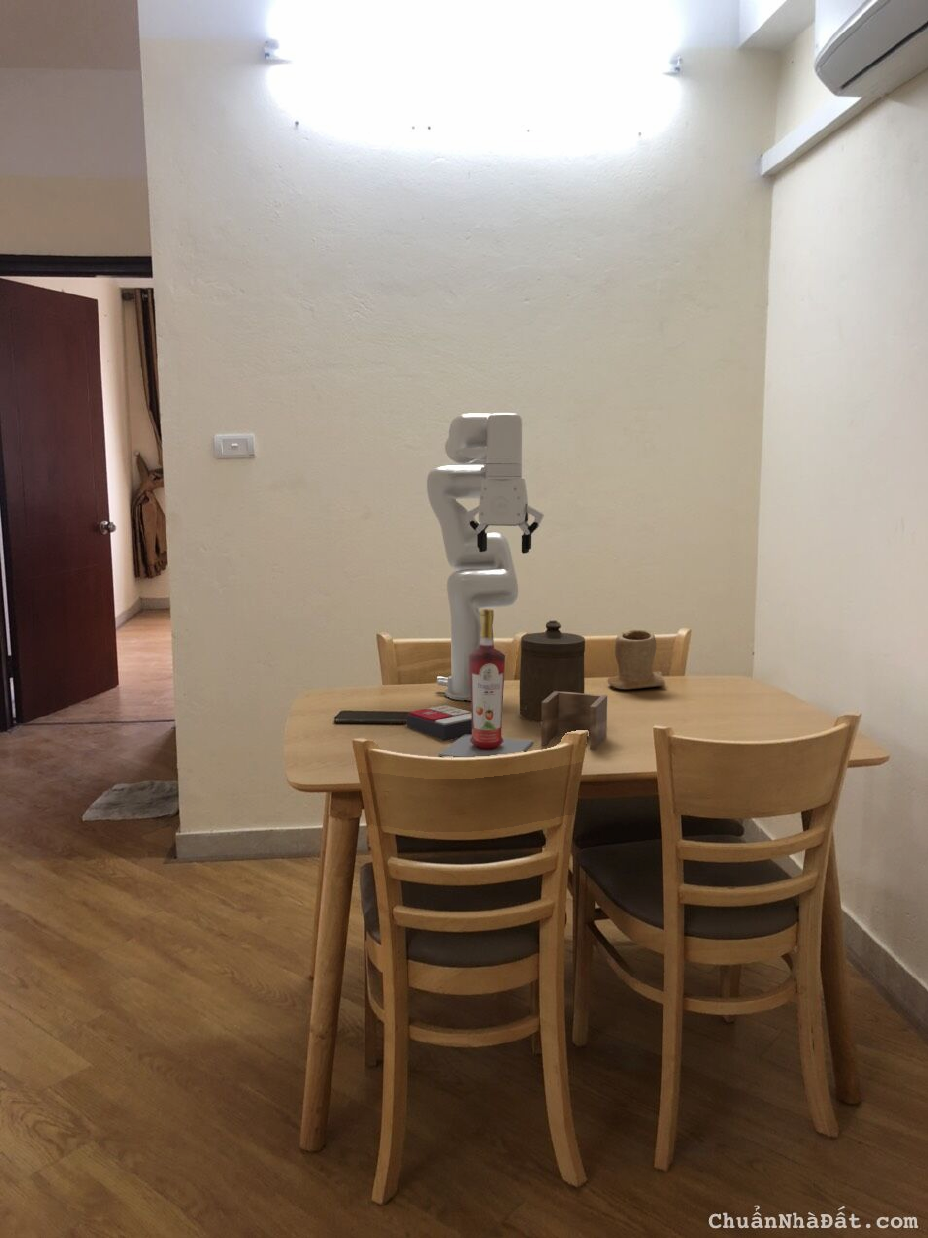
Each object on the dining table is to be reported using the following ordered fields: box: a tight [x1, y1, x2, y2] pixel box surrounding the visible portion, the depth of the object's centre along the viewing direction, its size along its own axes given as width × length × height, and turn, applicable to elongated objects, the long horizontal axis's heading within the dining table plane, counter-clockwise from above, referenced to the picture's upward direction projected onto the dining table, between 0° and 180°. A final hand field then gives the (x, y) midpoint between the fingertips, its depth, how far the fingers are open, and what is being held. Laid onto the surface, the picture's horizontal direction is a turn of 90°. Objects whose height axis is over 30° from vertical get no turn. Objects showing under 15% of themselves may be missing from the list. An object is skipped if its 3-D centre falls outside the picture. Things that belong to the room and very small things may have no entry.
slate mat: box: [438, 734, 534, 757], centre depth 195 cm, size 15×15×1 cm
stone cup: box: [606, 629, 666, 690], centre depth 246 cm, size 15×12×15 cm
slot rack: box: [540, 691, 608, 751], centre depth 201 cm, size 11×10×9 cm
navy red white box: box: [405, 704, 472, 742], centre depth 210 cm, size 11×4×15 cm
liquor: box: [468, 608, 506, 750], centre depth 193 cm, size 7×7×28 cm
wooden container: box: [519, 619, 586, 723], centre depth 220 cm, size 15×15×22 cm
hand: (504, 552), depth 208 cm, fingers open, 9 cm apart
